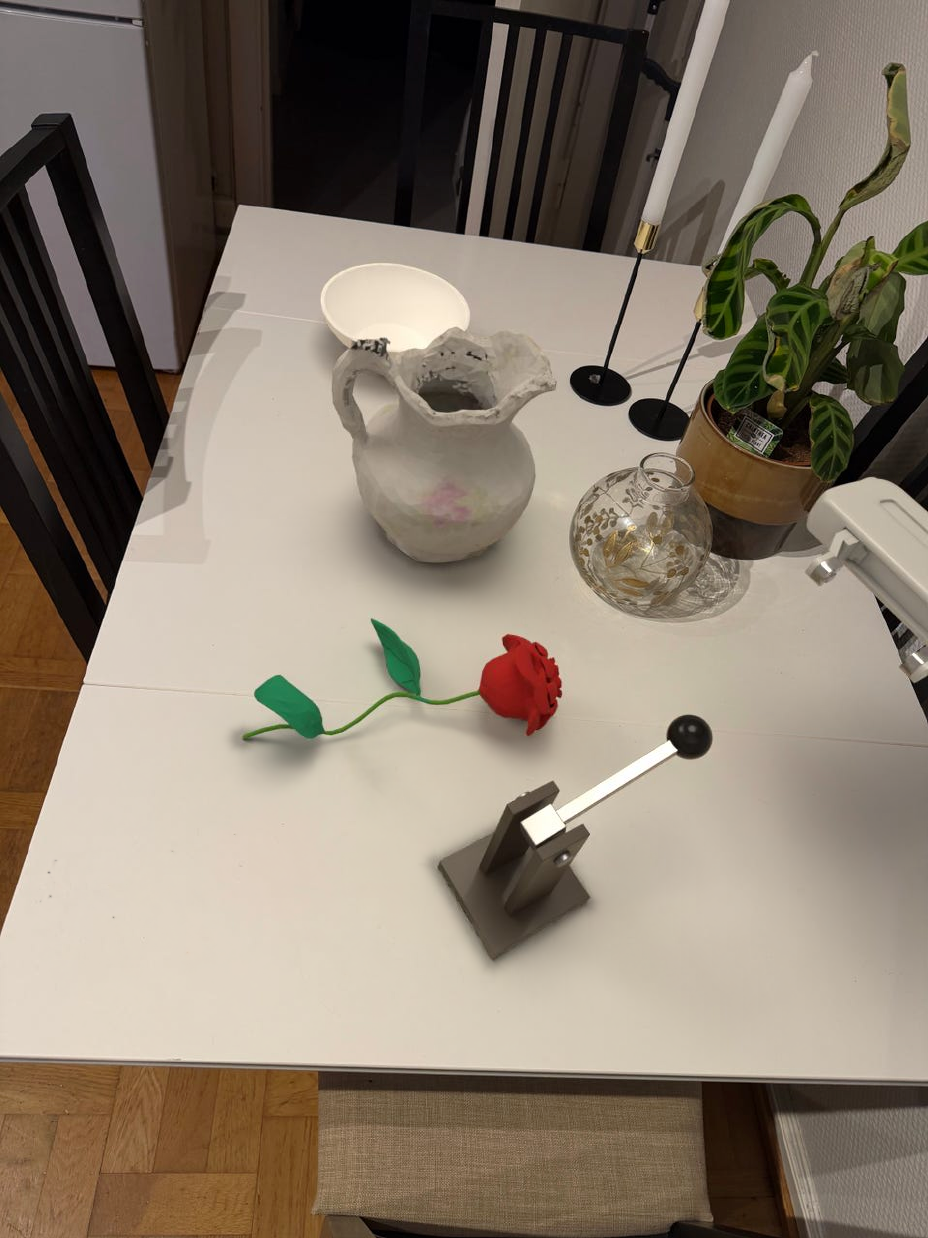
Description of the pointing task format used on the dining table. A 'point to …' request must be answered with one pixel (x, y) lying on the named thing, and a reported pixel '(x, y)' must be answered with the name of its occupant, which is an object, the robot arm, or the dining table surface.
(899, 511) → the robot arm
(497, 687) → the decorative flower
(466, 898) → the bracket
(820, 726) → the dining table surface
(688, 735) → the lever
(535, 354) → the ceramic pitcher
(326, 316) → the bowl
